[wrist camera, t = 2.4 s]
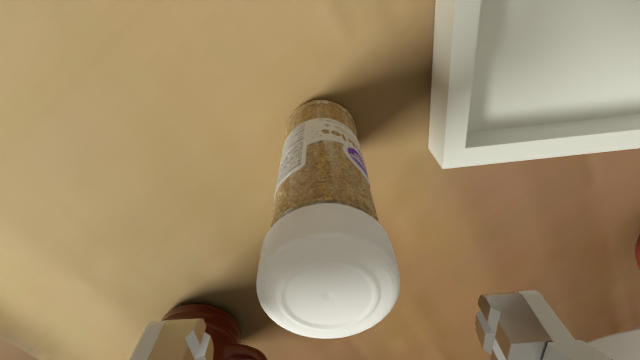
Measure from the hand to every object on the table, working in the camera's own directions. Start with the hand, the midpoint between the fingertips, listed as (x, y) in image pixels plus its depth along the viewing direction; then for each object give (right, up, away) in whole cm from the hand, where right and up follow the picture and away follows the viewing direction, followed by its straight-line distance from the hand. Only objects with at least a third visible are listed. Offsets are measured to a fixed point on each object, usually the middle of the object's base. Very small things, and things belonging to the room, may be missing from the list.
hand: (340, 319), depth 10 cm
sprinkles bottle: (-1, +7, +12) cm, 14 cm away
